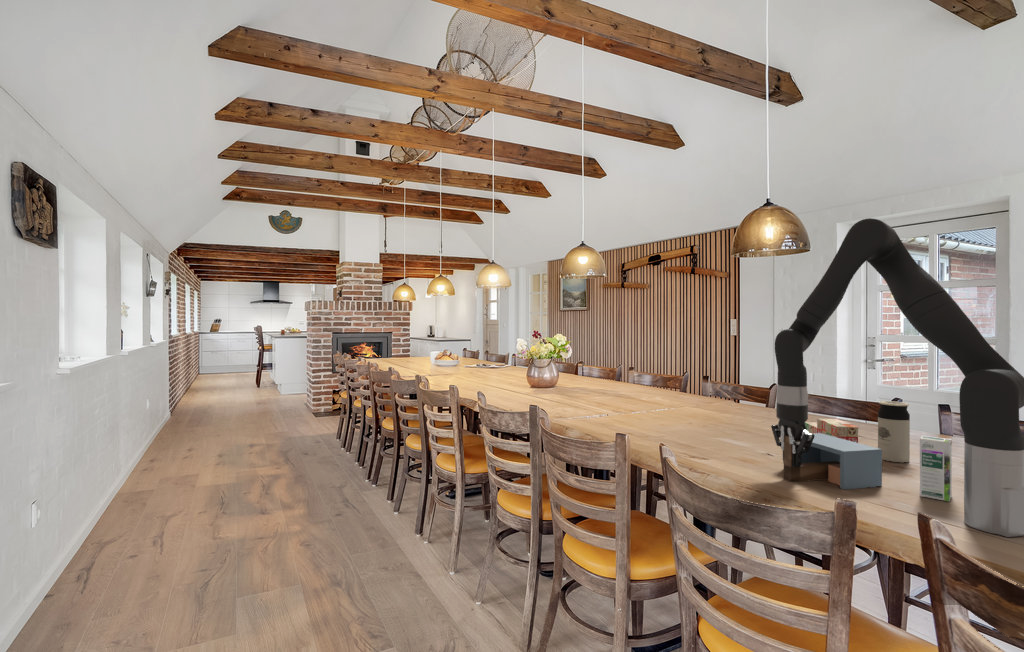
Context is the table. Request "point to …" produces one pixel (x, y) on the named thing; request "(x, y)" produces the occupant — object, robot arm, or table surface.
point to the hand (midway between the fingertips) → (791, 465)
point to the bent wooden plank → (803, 467)
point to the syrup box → (936, 468)
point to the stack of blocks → (834, 429)
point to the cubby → (848, 460)
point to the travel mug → (894, 431)
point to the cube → (834, 473)
